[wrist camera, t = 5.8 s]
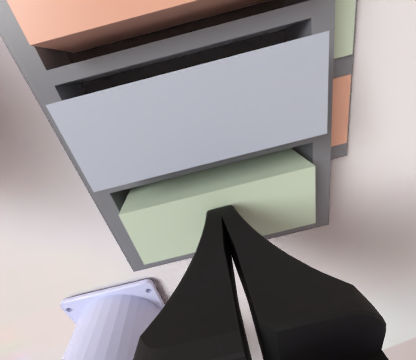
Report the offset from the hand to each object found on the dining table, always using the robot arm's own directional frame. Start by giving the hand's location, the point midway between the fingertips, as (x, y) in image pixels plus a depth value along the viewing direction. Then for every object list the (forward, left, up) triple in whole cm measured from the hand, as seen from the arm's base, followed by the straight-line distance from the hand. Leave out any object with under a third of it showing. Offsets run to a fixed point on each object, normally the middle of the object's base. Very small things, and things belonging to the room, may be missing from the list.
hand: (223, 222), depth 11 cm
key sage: (0, 0, -4) cm, 4 cm away
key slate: (+6, 0, -3) cm, 6 cm away
